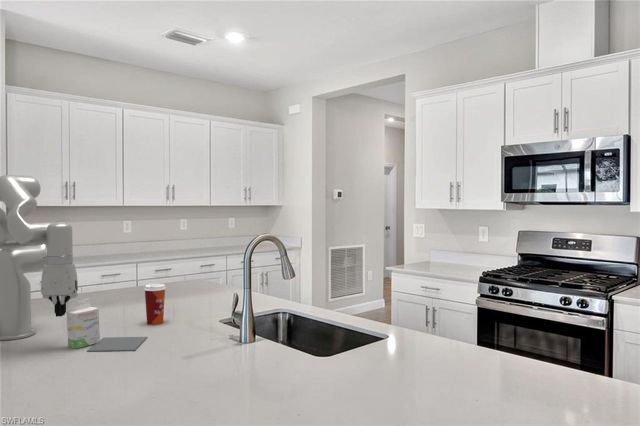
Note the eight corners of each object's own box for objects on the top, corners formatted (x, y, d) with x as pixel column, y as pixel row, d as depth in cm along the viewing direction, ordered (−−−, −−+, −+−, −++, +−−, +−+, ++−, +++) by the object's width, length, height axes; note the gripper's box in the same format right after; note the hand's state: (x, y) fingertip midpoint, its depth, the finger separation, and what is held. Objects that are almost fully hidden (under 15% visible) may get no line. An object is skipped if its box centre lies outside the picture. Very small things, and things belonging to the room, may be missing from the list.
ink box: (74, 349, 150) (72, 304, 149) (67, 346, 153) (65, 302, 152) (101, 342, 156) (98, 298, 156) (93, 339, 159) (91, 297, 159)
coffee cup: (161, 325, 179) (161, 287, 178) (140, 325, 179) (140, 287, 178) (169, 320, 187) (169, 283, 186) (149, 319, 187) (148, 283, 187)
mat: (86, 351, 148) (86, 350, 148) (103, 338, 162) (103, 337, 162) (135, 350, 149) (135, 349, 149) (147, 337, 163) (147, 336, 163)
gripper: (30, 262, 148) (30, 318, 149) (78, 262, 150) (78, 318, 150) (42, 259, 156) (42, 313, 157) (87, 259, 157) (88, 312, 158)
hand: (60, 315), depth 153 cm, fingers closed
